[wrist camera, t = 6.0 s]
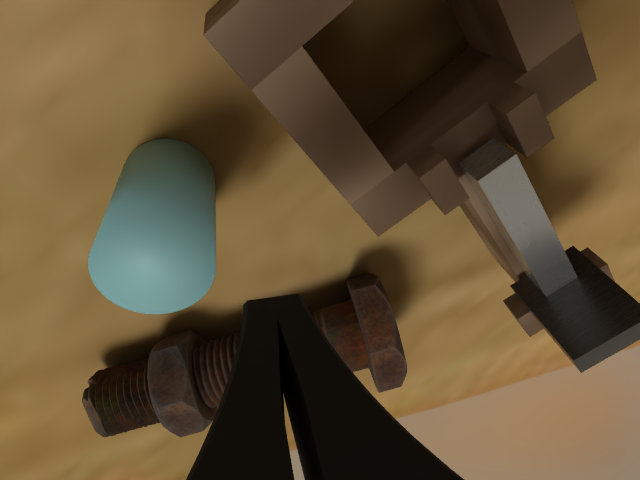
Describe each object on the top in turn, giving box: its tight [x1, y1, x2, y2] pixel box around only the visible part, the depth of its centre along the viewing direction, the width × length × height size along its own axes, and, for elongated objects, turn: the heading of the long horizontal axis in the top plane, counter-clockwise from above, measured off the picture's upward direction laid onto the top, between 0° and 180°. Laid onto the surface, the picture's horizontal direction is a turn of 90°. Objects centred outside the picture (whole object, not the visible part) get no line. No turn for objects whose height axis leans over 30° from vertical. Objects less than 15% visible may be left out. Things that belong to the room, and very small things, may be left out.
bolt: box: [82, 274, 407, 437], centre depth 22 cm, size 6×5×15 cm
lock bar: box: [459, 138, 640, 372], centre depth 16 cm, size 8×3×4 cm, turn 37°
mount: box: [203, 0, 615, 337], centre depth 17 cm, size 18×9×5 cm, turn 37°
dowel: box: [88, 139, 216, 314], centre depth 16 cm, size 4×4×6 cm
